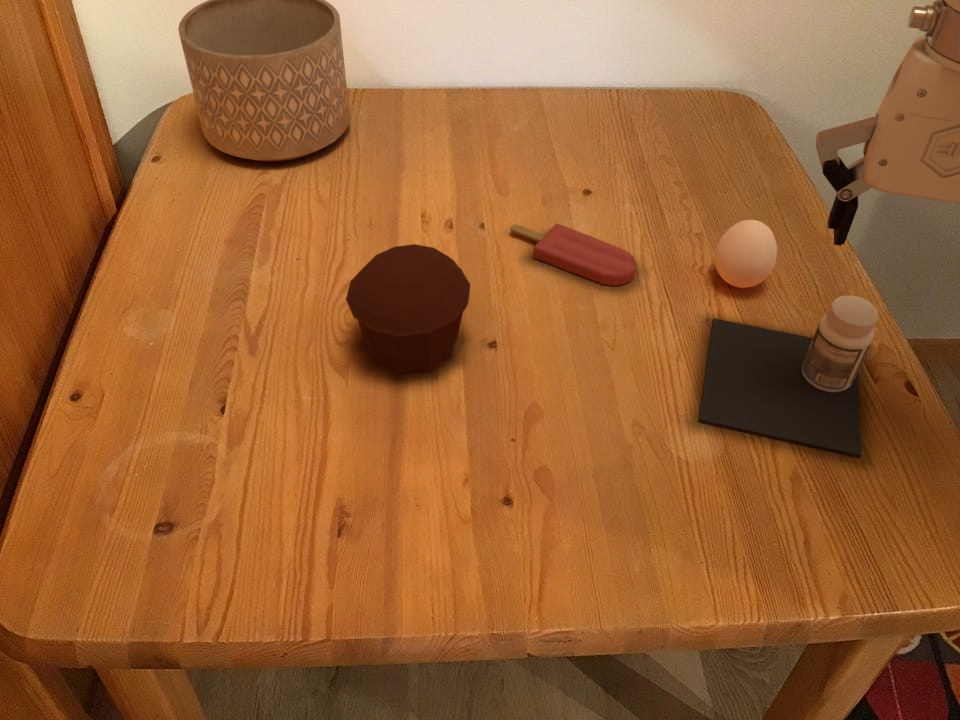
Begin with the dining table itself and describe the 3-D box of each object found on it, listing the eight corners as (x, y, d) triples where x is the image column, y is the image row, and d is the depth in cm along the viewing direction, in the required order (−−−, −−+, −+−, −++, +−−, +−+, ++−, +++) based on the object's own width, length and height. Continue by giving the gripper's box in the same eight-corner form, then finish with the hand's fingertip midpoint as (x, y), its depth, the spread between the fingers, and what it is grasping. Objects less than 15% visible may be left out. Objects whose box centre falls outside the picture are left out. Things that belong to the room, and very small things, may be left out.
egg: (696, 274, 91) (712, 216, 85) (740, 257, 93) (757, 199, 88) (734, 307, 87) (753, 249, 82) (778, 289, 89) (799, 231, 84)
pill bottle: (823, 351, 82) (852, 285, 76) (862, 381, 80) (895, 315, 74) (789, 369, 81) (816, 303, 75) (828, 401, 78) (859, 335, 72)
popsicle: (523, 209, 96) (645, 255, 91) (523, 220, 97) (642, 266, 92) (499, 233, 93) (623, 282, 87) (498, 244, 94) (621, 293, 88)
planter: (352, 93, 117) (342, -12, 107) (348, 168, 104) (336, 56, 94) (215, 96, 116) (192, -11, 105) (194, 172, 103) (164, 59, 92)
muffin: (396, 289, 88) (390, 210, 81) (490, 325, 85) (492, 246, 78) (329, 360, 81) (317, 280, 74) (429, 403, 77) (426, 323, 70)
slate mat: (856, 349, 83) (857, 346, 83) (859, 458, 74) (861, 455, 73) (712, 320, 86) (713, 318, 86) (698, 422, 76) (698, 419, 76)
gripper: (854, 41, 54) (787, 255, 66) (1156, 76, 51) (1028, 295, 63) (852, -3, 60) (790, 203, 72) (1126, 26, 56) (1013, 237, 68)
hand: (901, 246), depth 67 cm, fingers open, 9 cm apart
